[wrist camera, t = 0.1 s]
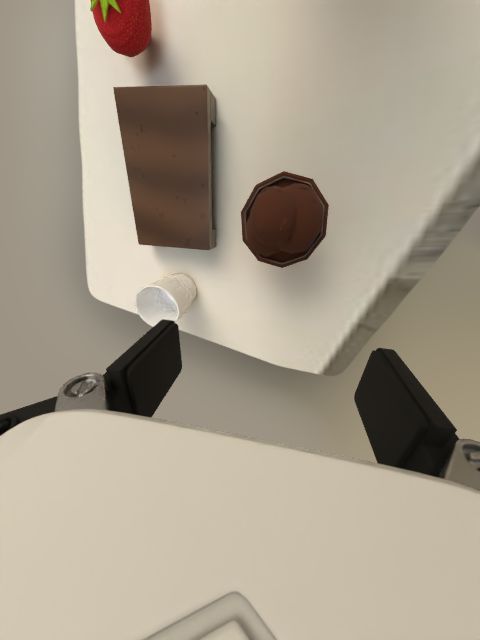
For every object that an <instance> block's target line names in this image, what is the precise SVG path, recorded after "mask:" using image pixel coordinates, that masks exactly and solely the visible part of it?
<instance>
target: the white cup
mask: <svg viewBox="0 0 480 640" xmlns="http://www.w3.org/2000/svg"><path fill="white" fill-rule="evenodd" d="M196 291H197V289H196V286H195V284H194V282H193V281H192V280H191V279H190V278H189V277H188V276H186V275H184V274H173V275H171V276H168V277H165V278H163V279H160V280H158V281H156V282H154V283H152V284H149V285H147V286H145V287H143V288H141V289H140V290H139V291H138V292H137V294H136V297H135V306H136V310H137V312H138V314H139V315H140V317H141V318H142V319H143V320H144V321H145V322H146V323H148V324H149V325H151V326H153V327H154V326H155V325H156V324H157V323H158V322H159V321H161V320H162V319H165V320H172V321H174V322H175V323H176V322H177V321H178V320H179V319H180V317H181V316H182V315H183V314H184V313H185V311H186V310H187V309H188V308H189V306H190V305H191V303H192V302H193V301H194V299H195V297H196Z"/></svg>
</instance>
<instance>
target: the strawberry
mask: <svg viewBox="0 0 480 640" xmlns="http://www.w3.org/2000/svg"><path fill="white" fill-rule="evenodd" d="M91 11H93V15H94V19H95V22H96V25H97V27H98V29H99V31H100V33H101V35H102V36H103V38H104V39H105V41H106V42H107V44H108V45H109V46H110V47H111V48H112V50H114V51H115V52H116V53H119V54H122V55H125V56H129V57H134V56H136V55H138V54H140V53H141V52H143V51H144V50H145V49H146V48H147V46H148V45H149V44H150V41H151V13H150V4H149V0H91Z"/></svg>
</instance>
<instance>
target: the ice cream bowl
mask: <svg viewBox="0 0 480 640" xmlns="http://www.w3.org/2000/svg"><path fill="white" fill-rule="evenodd" d="M328 206H329V205H328V203H327V202H326V200H325V198H324V197H323V195H322V194H321V192H320V190H319V189H318V187H317V185H316V184H315V182H314V181H313V179H310V178H306V177H303V176H299V175H295V174H292V173H288V172H284V171H283V172H281V173H279V174H277V175H275V176H273V177H271V178H269V179H267V180H265V181H263V182H261V183H259V184H257V185H256V186H255V188H254V189H253V191H252V193H251V195H250V197H249V199H248V200H247V202H246V204H245V206H244V208H243V209H242V211H241V219H242V236H243V241H244V243H245V244H246V245H247V247H248V248H249V249H250V250H251V252H252V253H253V254H254V256H255V257H256V258H257V260H258V261H261V262H264V263H268V264H271V265H274V266H278V267H281V268H283V267H286V266H289V265H292V264H295V263H297V262H300V261H303V260H306V259H308V258H309V256H310V255H311V254H312V252H313V251H314V250H315V249H316V247H317V246H318V245H319V244H320V242H321V241H322V240H323V239H324V237H325V236H326V226H327V216H328Z"/></svg>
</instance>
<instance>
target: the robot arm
mask: <svg viewBox="0 0 480 640" xmlns="http://www.w3.org/2000/svg"><path fill="white" fill-rule="evenodd" d="M181 369H182V361H181V351H180V342H179V331H178V325H177V324H175V322H174V321H172V320H165V319H162V320H161V321H159V322H158V323H157V324H156V325H155V326H154V327H153V328H152V329H151V330H149V331H148V332H147V333H146V334H145V335H144V336H143V337H142V338H140V339H139V340H138V341H137V342H136V343H135V344H134V345H133V346H131V347H130V348H129V349H128V350H127V351H126V352H125V353H124V354H122V355H121V356H120V357H119V358H118V359H117V360H116V361H115V362H113V363H112V364H111V365H110V366H109V367H108V368H107V369H106V370H107V372H106V373H105V374H104V375H101V374H99V373H86V374H82V375H80V376H76V377H74V378H72V379H70V380H69V381H68V382H66V383H65V384H64V385H63V386H62V387H61V388H60V390H59V393H58V396H57V397H53V398H50V399H47V400H44V401H41V402H38V403H35V404H32V405H29V406H26V407H23V408H20V409H17V410H14V411H11V412H7V413H5V414H1V415H0V640H480V442H477V441H474V440H470V439H459V438H458V437H457V435H456V434H455V432H456V431H457V430H456V428H455V427H454V426H453V424H452V423H451V422H450V421H449V419H448V418H447V417H446V415H445V414H444V413H443V412H442V410H441V409H440V408H439V407H438V405H437V404H436V403H435V402H434V400H433V399H432V398H431V396H430V395H429V394H428V393H427V391H426V390H425V389H424V387H423V386H422V385H421V384H420V382H419V381H418V380H417V379H416V377H415V376H414V375H413V373H412V372H411V371H410V370H409V368H408V367H407V366H406V365H405V363H404V362H403V361H402V360H401V358H400V357H399V356H398V355H397V353H396V352H395V351H394V350H391V349H383V348H378V349H377V350H376V351H372V353H371V355H370V357H369V360H368V362H367V365H366V367H365V370H364V372H363V375H362V377H361V380H360V382H359V385H358V387H357V390H356V392H355V397H354V399H355V403H356V406H357V408H358V411H359V414H360V417H361V419H362V422H363V425H364V427H365V430H366V433H367V436H368V438H369V441H370V444H371V446H372V449H373V452H374V454H375V457H376V460H377V463H373V462H369V461H365V460H360V459H355V458H350V457H345V456H341V455H336V454H331V453H326V452H321V451H316V450H311V449H307V448H302V447H297V446H292V445H287V444H282V443H278V442H272V441H268V440H263V439H258V438H253V437H248V436H242V435H238V434H233V433H228V432H223V431H218V430H212V429H208V428H203V427H198V426H193V425H187V424H182V423H177V422H172V421H167V420H162V419H156V418H151V417H152V415H153V414H154V412H155V411H156V409H157V408H158V406H159V405H160V403H161V401H162V400H163V398H164V396H165V395H166V393H167V392H168V390H169V389H170V387H171V386H172V384H173V383H174V381H175V379H176V378H177V377H178V375H179V373H180V371H181Z"/></svg>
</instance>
